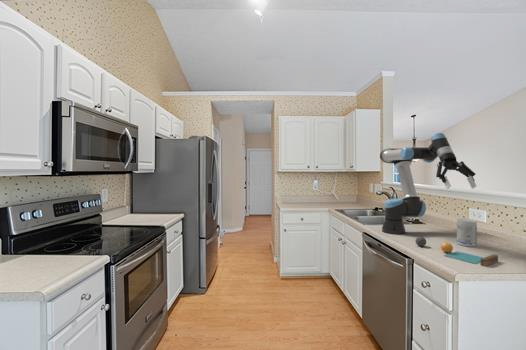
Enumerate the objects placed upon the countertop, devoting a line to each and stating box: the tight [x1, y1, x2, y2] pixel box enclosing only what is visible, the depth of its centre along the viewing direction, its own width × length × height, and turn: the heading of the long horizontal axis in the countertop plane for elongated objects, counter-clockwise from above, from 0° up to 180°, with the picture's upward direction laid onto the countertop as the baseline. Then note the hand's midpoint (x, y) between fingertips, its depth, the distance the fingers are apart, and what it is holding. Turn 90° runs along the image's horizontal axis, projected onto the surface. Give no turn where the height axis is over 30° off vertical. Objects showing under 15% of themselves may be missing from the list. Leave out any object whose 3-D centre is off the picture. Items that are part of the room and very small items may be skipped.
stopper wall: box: [480, 254, 499, 267], centre depth 129 cm, size 2×13×3 cm, turn 120°
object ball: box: [440, 242, 454, 254], centre depth 146 cm, size 6×6×6 cm
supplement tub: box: [456, 218, 478, 248], centre depth 160 cm, size 10×10×15 cm
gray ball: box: [415, 236, 427, 247], centre depth 158 cm, size 6×6×6 cm
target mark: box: [443, 250, 485, 265], centre depth 138 cm, size 14×14×1 cm
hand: (461, 187), depth 145 cm, fingers open, 13 cm apart
